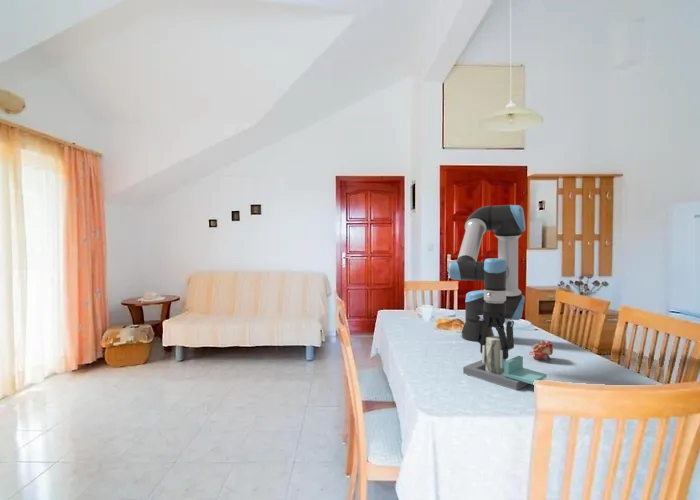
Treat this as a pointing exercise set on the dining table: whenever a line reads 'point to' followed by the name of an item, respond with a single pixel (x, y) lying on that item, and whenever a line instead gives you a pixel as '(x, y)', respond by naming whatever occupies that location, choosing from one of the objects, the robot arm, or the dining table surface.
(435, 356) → the dining table surface
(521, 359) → the teal angle bracket
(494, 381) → the socket block
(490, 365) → the box
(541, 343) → the flower
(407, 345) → the dining table surface
